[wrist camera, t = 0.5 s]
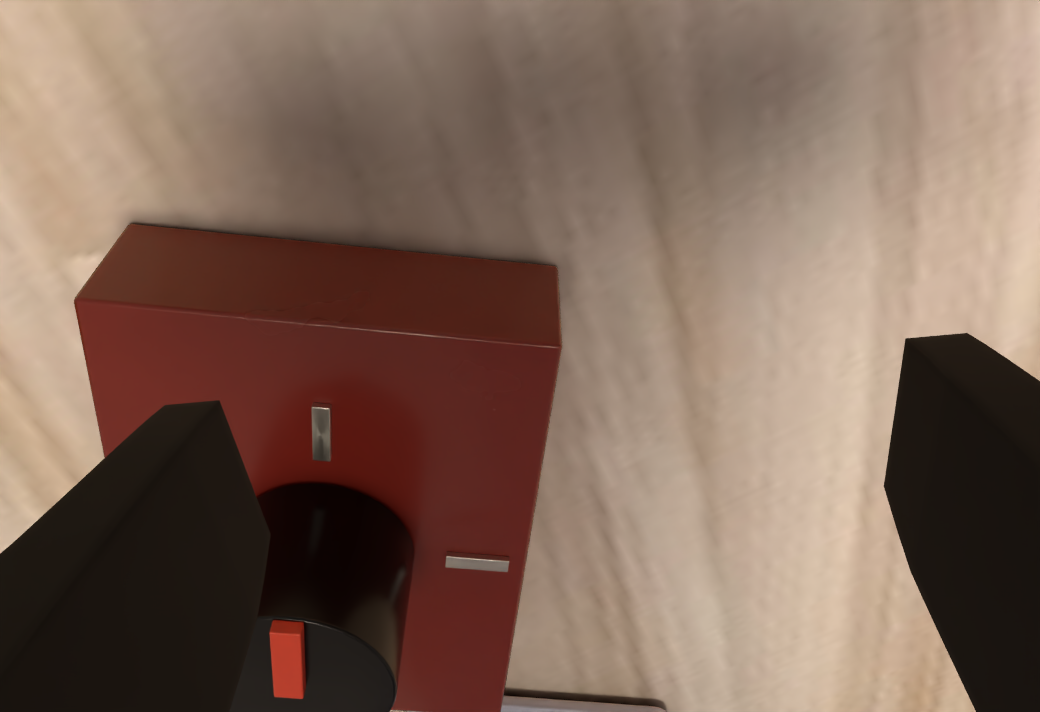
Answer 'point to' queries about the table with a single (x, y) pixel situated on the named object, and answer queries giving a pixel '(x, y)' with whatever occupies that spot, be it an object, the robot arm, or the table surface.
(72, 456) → the table surface
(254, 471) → the dial panel
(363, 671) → the dial
